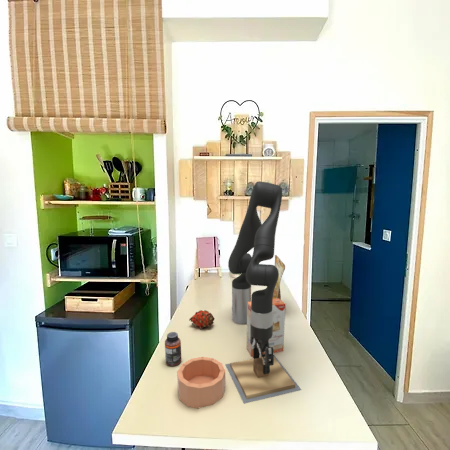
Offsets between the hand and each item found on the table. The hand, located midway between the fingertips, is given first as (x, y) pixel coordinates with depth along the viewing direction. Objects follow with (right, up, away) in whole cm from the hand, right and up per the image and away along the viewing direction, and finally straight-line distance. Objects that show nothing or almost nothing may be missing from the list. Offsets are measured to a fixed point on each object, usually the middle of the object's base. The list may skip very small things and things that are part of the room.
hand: (261, 365), depth 101 cm
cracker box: (+4, -2, +16) cm, 17 cm away
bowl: (-20, -6, -5) cm, 21 cm away
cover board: (0, -4, +1) cm, 4 cm away
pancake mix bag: (+14, +3, +53) cm, 55 cm away
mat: (0, -5, +1) cm, 5 cm away
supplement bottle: (-32, -4, +10) cm, 34 cm away
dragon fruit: (-23, +1, +36) cm, 43 cm away
